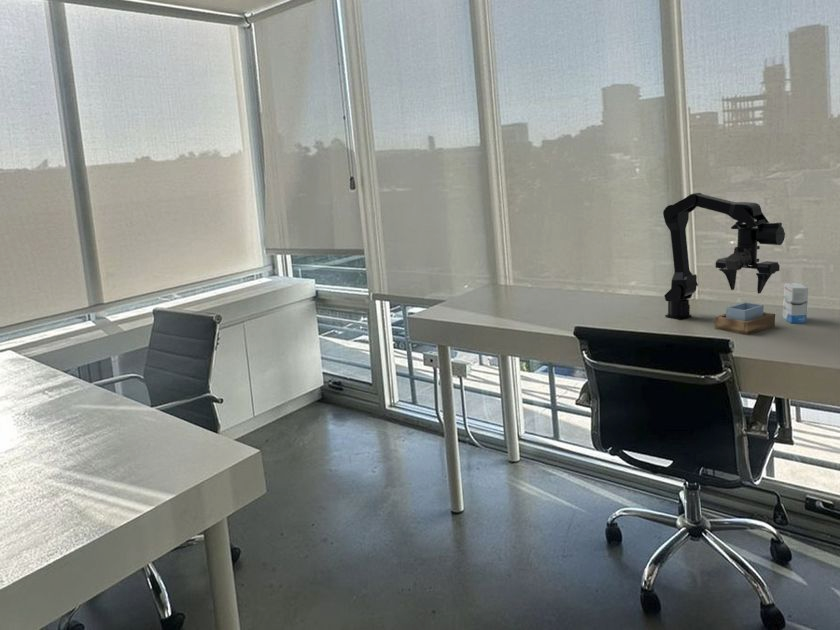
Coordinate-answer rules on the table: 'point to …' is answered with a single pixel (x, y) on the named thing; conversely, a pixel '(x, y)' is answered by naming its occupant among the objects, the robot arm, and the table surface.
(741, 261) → the robot arm
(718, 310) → the table surface
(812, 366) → the table surface
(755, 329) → the walnut crate
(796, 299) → the ink box
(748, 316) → the blue crate
